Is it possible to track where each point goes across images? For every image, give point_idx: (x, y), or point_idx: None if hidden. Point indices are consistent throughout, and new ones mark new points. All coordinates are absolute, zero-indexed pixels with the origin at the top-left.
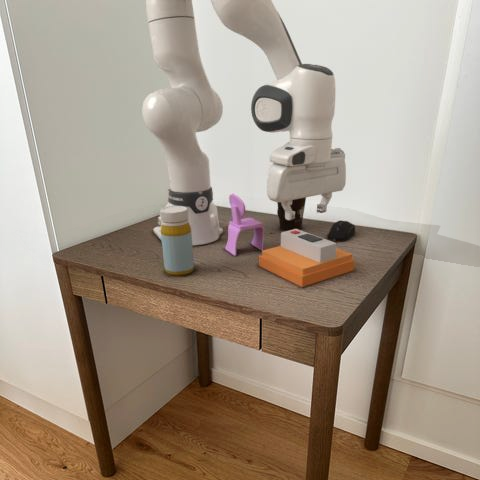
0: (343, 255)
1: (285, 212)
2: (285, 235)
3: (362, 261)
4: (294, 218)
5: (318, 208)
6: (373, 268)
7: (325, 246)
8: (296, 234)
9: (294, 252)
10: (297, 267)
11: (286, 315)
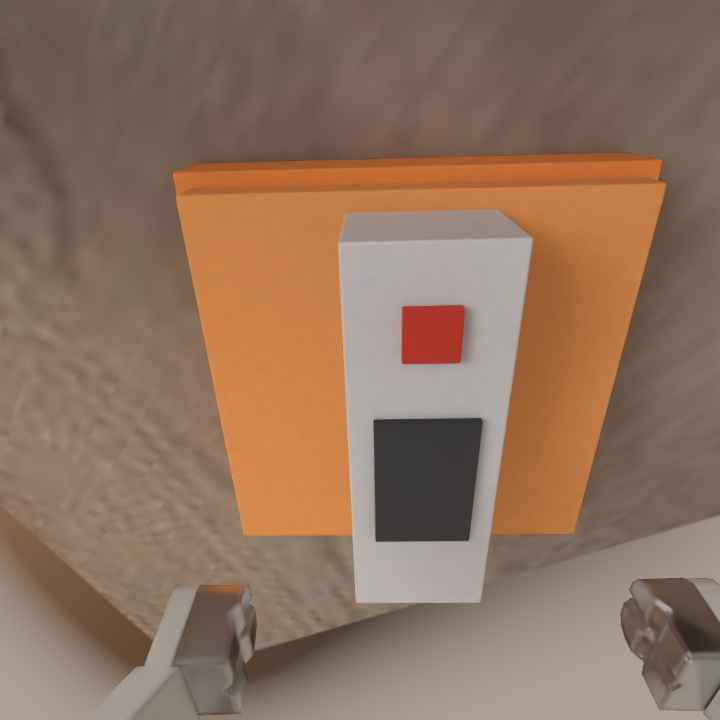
0: (524, 525)
1: (153, 650)
2: (341, 306)
3: (682, 435)
4: (254, 630)
5: (660, 623)
6: (630, 505)
7: (392, 601)
8: (410, 369)
9: None
10: (238, 504)
11: (96, 582)
